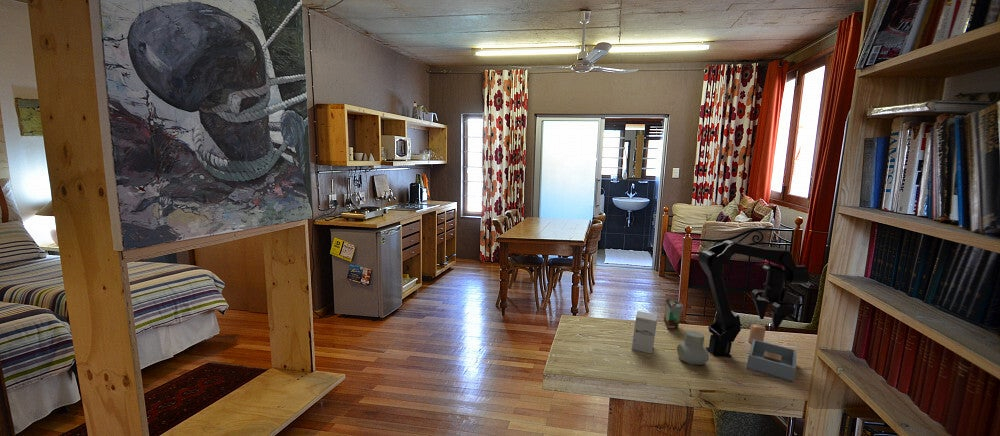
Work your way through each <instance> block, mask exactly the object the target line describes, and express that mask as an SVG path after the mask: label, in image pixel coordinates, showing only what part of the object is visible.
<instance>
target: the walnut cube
mask: <svg viewBox="0 0 1000 436" xmlns="http://www.w3.org/2000/svg"><path fill="white" fill-rule="evenodd" d="M781 357H782V355H779V354H775V353H771V352H768V351H765V353H764V358H763V359H767V360H770V361H774V362H778V363H781Z"/></svg>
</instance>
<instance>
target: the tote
mask: <svg viewBox="0 0 1000 436" xmlns="http://www.w3.org/2000/svg"><path fill="white" fill-rule="evenodd" d="M750 345H751V346H750V349H749V354H748V358H747V363H746V370H748V371H752V372H756V373H757V374H758V373H759V374H762V375H766V376H769V377H773V378H776V379H779V380H783V381H786V382H789V383H794V381H795V376H796V370H797V349H793V348H789V347H785V346H782V345H778V344H773V343H769V342H766V341H759V340H755V339H753V342H752V344H750ZM765 351H768V352H771V353H775V354H779V355H782V357H781V363H778V362H774V361H770V360H767V359H763V358H764V353H765Z"/></svg>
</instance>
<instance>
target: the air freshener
mask: <svg viewBox="0 0 1000 436" xmlns="http://www.w3.org/2000/svg"><path fill="white" fill-rule="evenodd" d="M704 342H705V335H704V334H702V333H701V332H699V331H696V330H689V331H686V333H685V339H684V341H683V342H680V343H678V344H677V345H676V353H677V357H679V359H680V360H681V361H683V362H684V363H687V364H689V365H694V366H695V365H696V366H699V365H705V364H706V363H708V362H709V359H710V355H709V351H708V350H707V349H706V347H705V346H704Z"/></svg>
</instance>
